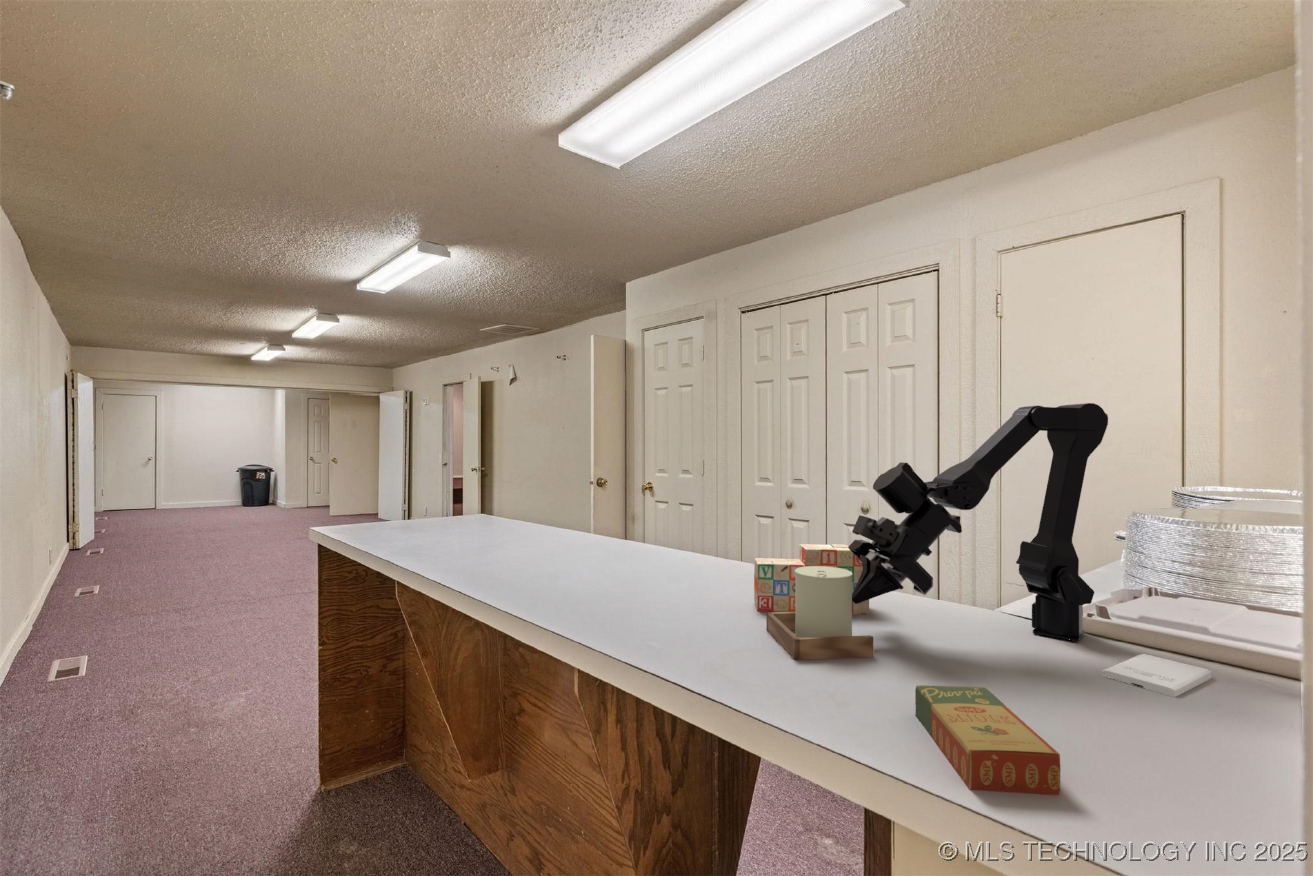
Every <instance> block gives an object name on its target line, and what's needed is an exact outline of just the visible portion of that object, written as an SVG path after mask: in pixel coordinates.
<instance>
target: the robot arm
mask: <svg viewBox="0 0 1313 876" xmlns="http://www.w3.org/2000/svg"><path fill="white" fill-rule="evenodd" d="M1108 425H1109V417H1108V413H1106V412H1105V410H1104V409H1103V408H1102V407H1101V405H1099V404H1097V403H1094V402H1092V403H1091V402H1088V403H1087V402H1086V403H1075V404H1074V403H1073V404H1063V405H1062V404H1061V405H1058V406H1056V407H1053V406H1052V407H1050V406H1042V405H1028V406H1021V407H1018V408H1017V409H1016V410H1014V412H1013V413H1012V415H1011V416H1010V418H1008V419H1007V420H1006V421H1005V422H1004V423H1003V424H1002V425H1001V426H1000V427H999V428H998V429H997V430H996V431H995V432H993V434H992V435H990V437H989V438H988V439H986V441H985V442H984V443H982V444H981V445H980V446H979V447H978V449H976V450H975V451H974V452H973V453H972V454H971V455H970V456H969V457H968V458H966V459H965V460H963V461H961V462H959V463H957V464H954V465H952V466H949V468H947V469H945V470H944V471H943V472H941V473H940V474H937V476H935V477H934V478H933V480H930V481H924V480H923V479H922V478H921V477H920V476H919V475H918V474H917V473H916V472H915V470H914V469H913V468H912V466H911V465H910V464H909V463H908V462H904V461H903V462H899V463H898V464H897V465H896V466H893V467H892V468H890V469H888V470H886V471H885V472H884V473H881V474H880V475H879V476H878V477H877V478H876V479H875V481H874V483H873V484H872V488H873V491H875V493H877V494H878V495H879V496H880V497H881V499H882V500H884V502H885V503H886V504H888V506H889V507H890V508H891V509H892V510H893V511H894V512H895V513H896V514H903V513H905V514H907V516H906V517H905V518H904V519H902V521H901V522H900V523H898V524H897V523H896V522H895V521H894V520H892V519H890V518H887V517H883V516H882V517H880V518H878V520H877V519H874V518H871V517H868V516H864V515H860V514H859V515H858V517H857V520H856V521H855V524H854V526H853V529H852V531H851V533H852V534H855V535H856V536H857V535H859V536H861V537H863V538H867V539H868V540H870V541H872V542H870V541H866V540H863V539H854V540H853V541H852V542H851V543H850V544H849V545H848V546H849V547H848V548H849V549H850V551H851V552H852V553H853V554H854V555H855V556H856V557H857V558H858V559H859V560H860V561H861V562H862V566H863V570H862V573H861V575H860V578H859V580H858V582H857V585H856V587H855V589H854V591H853V593H852V601H853V602H854V603H855V604H858V603H861V602H864V601H866V600H869V601H870V600H871V599H874V598H876V597H879V596H882V595H885V594H888V593H890V592H894V591H897V590H904V586H903V585H902V584H903V582H904V581H905V580H906V579H908V580H909V581H910V582H911V583H912V584H913V590H914V591H915V592H917V593H918V594H919V593H920V594H922V595H924V596H926V595H927V594H928V593H929V592H930V590H931V589H932V588H933V587H934V577H933V576H932V575H931V574H930V573H929V572H928V570H926V569H925V568H924V567H923V566H922V565H921V564H920V563H919V562H918V560H919V559H920V558H921V557H922V556H925V557H929V556H930V555H931V554H932V553H933V551H932V550H931V549H930V547H931V546H932V545H933V544H934V543H935V541H937V539H939V537H940V536H941V535H943V533H944V532H945V531H948V532H953V533H958V534H961V533H962V531H963V529H962V528H963V527H962V523H961V516H960V515H955V514H952V513H950V512H949V511H948V510H947V509H946V508H949V509H954V510H960V511H970V510H973V509H974V508H976V507H977V506H978V505H979V504H980V503H981V501H982V500H983V499H984V497H985V496H986V494H987V493H988V491H989V490H990V485H991V482H992V480H993V478H994V477H995V475H996V474H997V473H998V472H999V471H1000V470H1001V469H1002V468H1003V467H1004V466H1005V465H1006V464H1007V463H1009V461H1010V460H1011V459H1012V458H1013V457H1014V456H1015V455H1016V454H1017V453H1019V452H1020V450H1022V448H1024V446H1026V444H1028V443H1029V442H1030V441H1031V439H1033V437H1035V436H1036V435H1037V434H1038V433H1039V432H1040V431H1043V432H1046V439H1047V440H1048V443H1049V446H1050V448H1051V450H1052V458H1051V463H1050V469H1049V474H1048V478H1047V484H1046V490H1045V494H1044V500H1043V505H1042V510H1041V515H1040V520H1039V525H1038V530H1037V532H1036V535H1035V536H1034V537H1033V538H1032V540H1031V541H1030V542H1029V541H1024V540H1022V541H1021V543H1020V545H1019V556H1018V558H1017V560H1016V561H1015V563H1016V564H1017V565H1018V574H1019V575H1020V576H1021V578H1022V579H1023V581H1024V583H1025V585H1026V589H1027V591H1028V592H1029V593H1031V594H1036V595H1035V600H1034V602H1033V603H1032V604H1031V627H1032V634H1034V635H1039V636H1043V635H1046V636H1045V637H1049V636H1050V638H1054V637H1057V638H1056V639H1059V638H1062V639H1061V640H1064V639H1070V640H1074V641H1073V642H1075V641H1079V642H1080V641H1081V639H1082V638H1083V637H1084V636H1085V634H1086V631H1085V630H1083V606H1084V605H1090V604H1091V603H1092V601H1093V598H1094V595H1095V591H1094V590H1093V588H1091V587H1090V585H1089V584H1088V583H1086V581H1085V580H1084V579H1083V578H1082V577H1081V576H1080V575H1079V566H1080V560H1079V557H1078V554H1077V551H1076V548H1075V546H1074V544H1073V537H1074V531H1075V526H1076V521H1077V515H1078V510H1079V504H1080V500H1081V496H1082V490H1083V486H1084V485H1083V484H1084V479H1085V472H1086V469H1087V464H1088V459H1089V457H1090V456H1091V455H1092V454H1093V452H1094V451H1096V449H1097V448H1098V447H1099V445H1101V443H1102V441H1103V439H1104V436H1105V434H1106V432H1107V431H1106V430H1107V428H1108ZM932 499H933V500H932ZM1081 637H1082V638H1081ZM1080 638H1081V639H1080ZM1070 640H1069V641H1070Z"/></svg>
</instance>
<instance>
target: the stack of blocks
mask: <svg viewBox="0 0 1313 876" xmlns="http://www.w3.org/2000/svg"><path fill="white" fill-rule="evenodd" d="M848 547H849V545H847V544H843V543H842V544H839V543H836V544H834V543H833V544H832V543H831V544H813V543H811V544H810V543H809V544H807V543H806V544H805V543H799V545H798V550H799V551H798V553H799V554H798V558H775V557H774V558H773V557H772V558H768V557H767V558H766V557H764V558H763V557H755V558H754V570H753V571H754V574H753V589H754V591H753V592H754V593H753V595H754V597H753V599H754V602H755V603H754V605H755V609H756V611H757V612H758V611H759V612H760V611H761V612H795V569H797V568H799V567H805V566H828V567H836V568H842V569H846V570H848V571H851V572H852V573H853V576H852V593H853V591H854V589H855V587H856V585H857V582H858V580H859V578H860V575H861V573H862V570H863V566H862V562H861V561H860V560H859V559H858V558H857V557H856V556H855V555H854V554H853V553H852V552H851V551H850V549H849V548H848ZM852 613H869V614H870V599H869V600H866V601H864V602H861V603H858V604H855V603H854V602H853V601H852Z"/></svg>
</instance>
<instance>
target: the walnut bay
mask: <svg viewBox="0 0 1313 876" xmlns="http://www.w3.org/2000/svg"><path fill="white" fill-rule="evenodd" d="M766 631H767V632H768V633H769V634H770V635H771V637H772V638H774V639H775V641H776V642H777V643H778V644H779V645H780V646H781V647H782V649H784V650H785V651H786V653H788V655H790V656H791V658H792V659H793V660H794V661H797V660H798V661H800V660H823V659H853V658H855V659H856V658H874V636H872V635H871V634H869V635H852V636H836V637H805V638H798V637H797V636H796V635H795V633H794V632H795V612H789V611H788V612H781V611H769V612H766Z"/></svg>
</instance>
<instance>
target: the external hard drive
mask: <svg viewBox="0 0 1313 876" xmlns="http://www.w3.org/2000/svg"><path fill="white" fill-rule="evenodd" d="M1101 675H1102V677H1103V676H1105V677H1104V678H1106V677H1110V678H1111V679H1110V680H1113V679H1115V680H1114V681H1116V680H1117V682H1120V681H1122V682H1121V683H1123V682H1126V683H1125V684H1127V683H1128V685H1131V684H1135V685H1137V686H1136V687H1139V686H1141V687H1140V688H1142V687H1143V689H1144V688H1145V690H1148V691H1152V692H1156V693H1159V694H1163V695H1166V696H1170V697H1173V698H1177V697H1179V696H1180V695H1183V694H1184V693H1186V692H1188V691H1190V690H1192V689H1194V688H1195V687H1197V686H1199V685H1201V684H1203V683H1206V682H1207V681H1209V680H1211V679H1212V678H1213V676H1212V675H1213V673H1212V671H1211V670H1209V669H1207V668H1203V667H1200V666H1195V665H1192V664H1188V663H1183V662H1180V661H1175V660H1171V659H1166V658H1163V657H1159V656H1155V655H1151V654H1146V653H1140V654H1138V655H1135V656H1133V657H1131V658H1129V659H1126V660H1124V661H1122V662H1120V663H1117V664H1115V665H1112V666H1110V667H1108V668H1105V669H1103V670H1102V671H1101ZM1135 685H1134V686H1135Z"/></svg>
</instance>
